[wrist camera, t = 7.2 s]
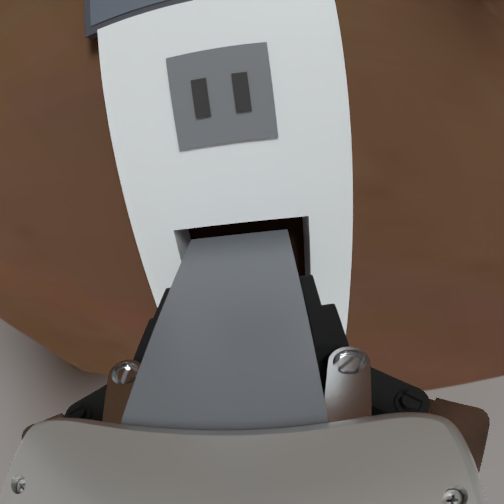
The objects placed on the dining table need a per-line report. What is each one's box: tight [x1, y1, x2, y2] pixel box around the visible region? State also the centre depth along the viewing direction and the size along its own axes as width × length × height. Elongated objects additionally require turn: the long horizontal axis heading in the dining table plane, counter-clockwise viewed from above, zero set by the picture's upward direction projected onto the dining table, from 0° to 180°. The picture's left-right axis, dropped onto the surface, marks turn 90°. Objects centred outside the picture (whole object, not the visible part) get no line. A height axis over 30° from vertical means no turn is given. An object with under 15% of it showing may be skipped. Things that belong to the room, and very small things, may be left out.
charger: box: [120, 229, 328, 430], centre depth 10 cm, size 4×4×10 cm
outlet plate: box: [97, 0, 353, 335], centre depth 14 cm, size 10×18×3 cm, turn 7°
